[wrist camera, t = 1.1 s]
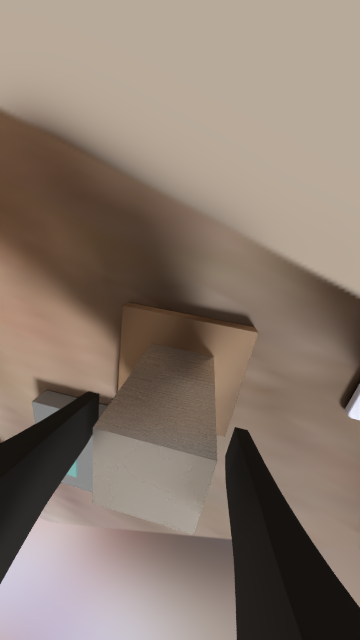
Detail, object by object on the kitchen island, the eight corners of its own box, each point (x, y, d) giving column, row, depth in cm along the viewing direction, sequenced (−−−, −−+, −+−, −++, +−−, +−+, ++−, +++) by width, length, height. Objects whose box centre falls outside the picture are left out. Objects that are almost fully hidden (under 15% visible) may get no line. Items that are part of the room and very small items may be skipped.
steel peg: (214, 356, 13) (217, 461, 6) (201, 406, 14) (193, 534, 8) (151, 343, 13) (92, 427, 7) (146, 393, 15) (93, 503, 8)
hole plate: (192, 427, 16) (190, 446, 15) (175, 498, 20) (172, 519, 18) (46, 390, 18) (29, 403, 16) (53, 462, 21) (40, 479, 19)
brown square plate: (254, 327, 13) (258, 332, 12) (224, 426, 16) (225, 436, 15) (128, 302, 14) (122, 305, 13) (122, 400, 17) (117, 409, 16)
